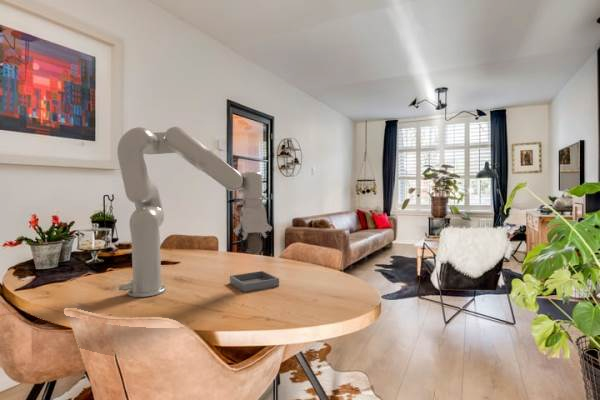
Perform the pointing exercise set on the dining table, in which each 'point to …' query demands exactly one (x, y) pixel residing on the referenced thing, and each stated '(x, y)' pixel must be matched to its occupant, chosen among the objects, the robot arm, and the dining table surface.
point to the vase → (254, 243)
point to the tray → (254, 281)
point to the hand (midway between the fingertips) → (253, 248)
